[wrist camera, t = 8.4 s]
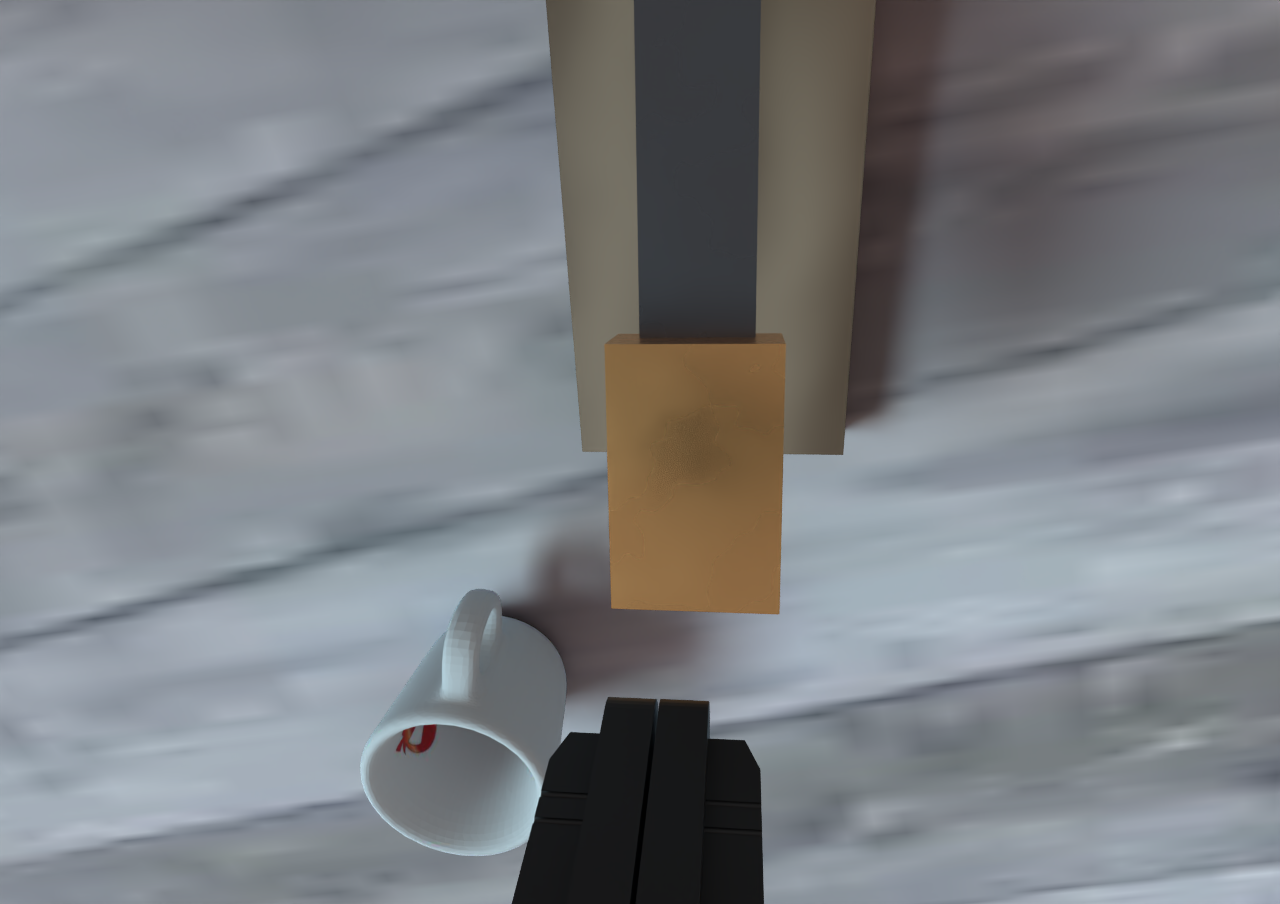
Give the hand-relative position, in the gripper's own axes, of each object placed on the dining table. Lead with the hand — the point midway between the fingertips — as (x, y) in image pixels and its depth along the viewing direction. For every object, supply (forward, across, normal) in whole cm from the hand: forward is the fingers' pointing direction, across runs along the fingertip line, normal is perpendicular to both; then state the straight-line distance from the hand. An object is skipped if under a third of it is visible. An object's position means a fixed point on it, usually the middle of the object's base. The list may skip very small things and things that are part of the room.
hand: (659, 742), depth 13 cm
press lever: (+14, 0, -7) cm, 16 cm away
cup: (+22, +10, +16) cm, 29 cm away
